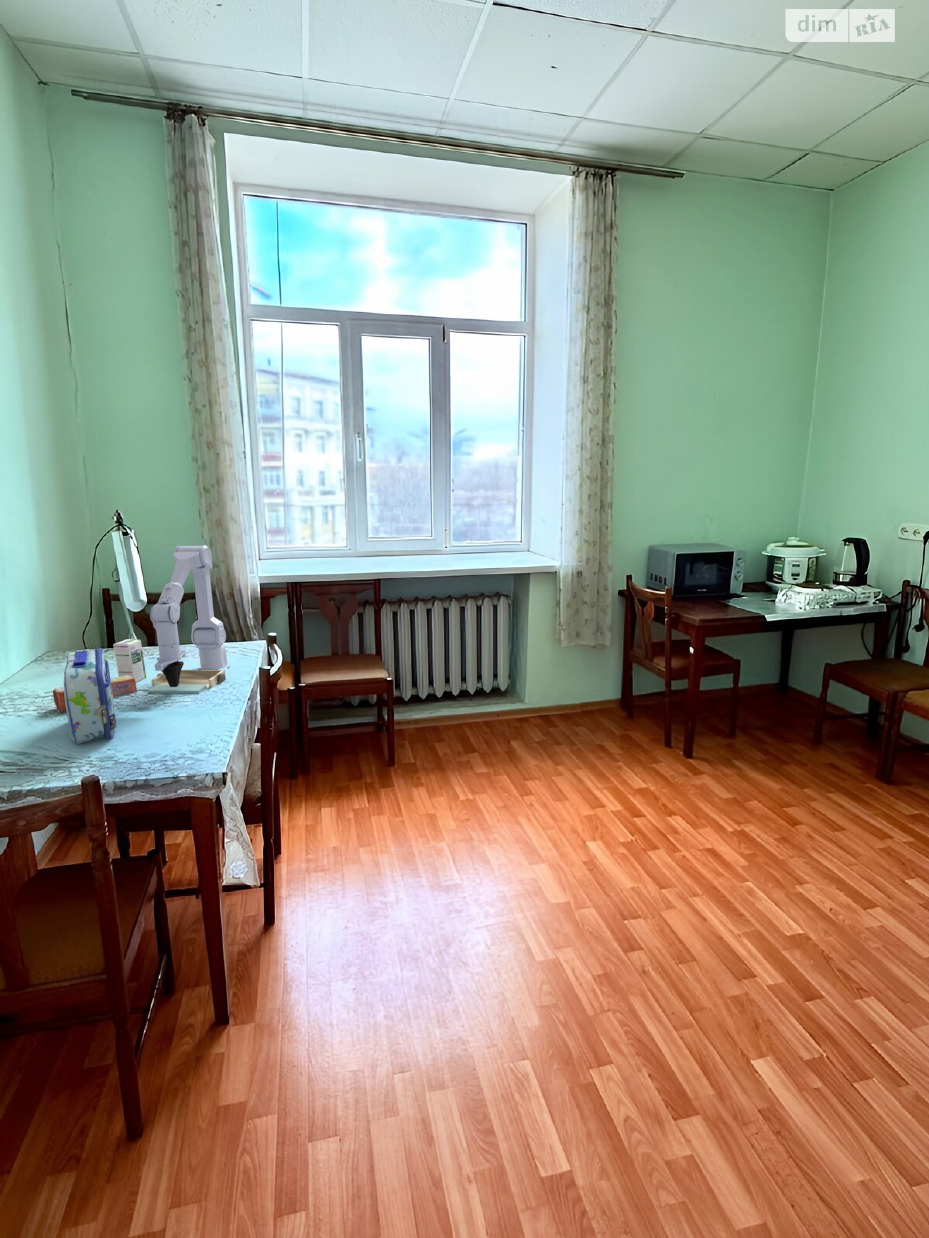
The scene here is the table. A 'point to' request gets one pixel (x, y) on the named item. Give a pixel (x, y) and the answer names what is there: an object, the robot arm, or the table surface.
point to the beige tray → (194, 678)
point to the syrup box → (130, 659)
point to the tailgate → (178, 689)
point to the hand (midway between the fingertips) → (174, 686)
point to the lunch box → (89, 696)
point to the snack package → (118, 688)
